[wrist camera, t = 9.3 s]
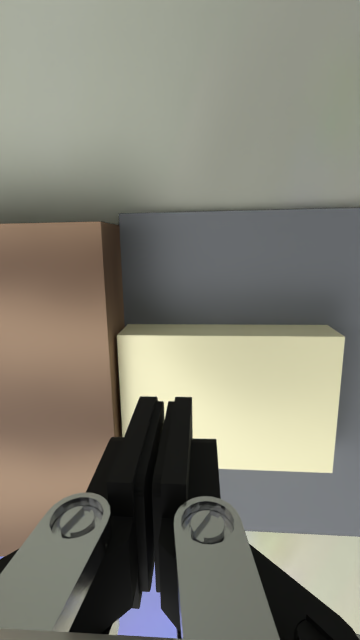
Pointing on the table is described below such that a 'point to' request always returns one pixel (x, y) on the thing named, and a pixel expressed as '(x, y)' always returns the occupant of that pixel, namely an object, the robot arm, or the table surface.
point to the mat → (261, 309)
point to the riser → (55, 364)
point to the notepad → (242, 388)
